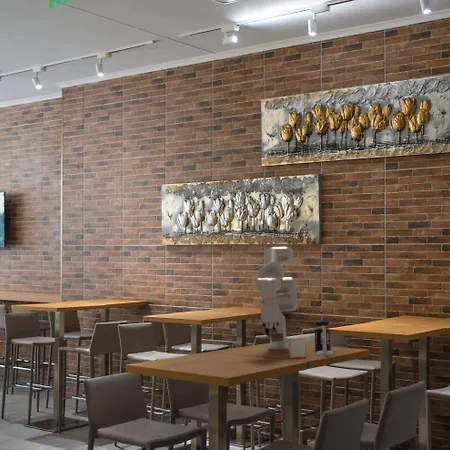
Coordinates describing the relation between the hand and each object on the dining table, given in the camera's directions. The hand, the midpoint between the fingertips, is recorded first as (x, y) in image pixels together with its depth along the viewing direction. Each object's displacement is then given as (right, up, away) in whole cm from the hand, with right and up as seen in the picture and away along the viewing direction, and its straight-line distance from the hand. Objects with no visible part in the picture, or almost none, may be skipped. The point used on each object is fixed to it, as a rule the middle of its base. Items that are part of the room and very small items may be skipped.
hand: (270, 334), depth 411 cm
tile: (+14, -11, -7) cm, 19 cm away
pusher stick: (0, -1, 0) cm, 1 cm away
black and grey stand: (+30, -11, 0) cm, 32 cm away
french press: (+31, -12, +17) cm, 37 cm away
